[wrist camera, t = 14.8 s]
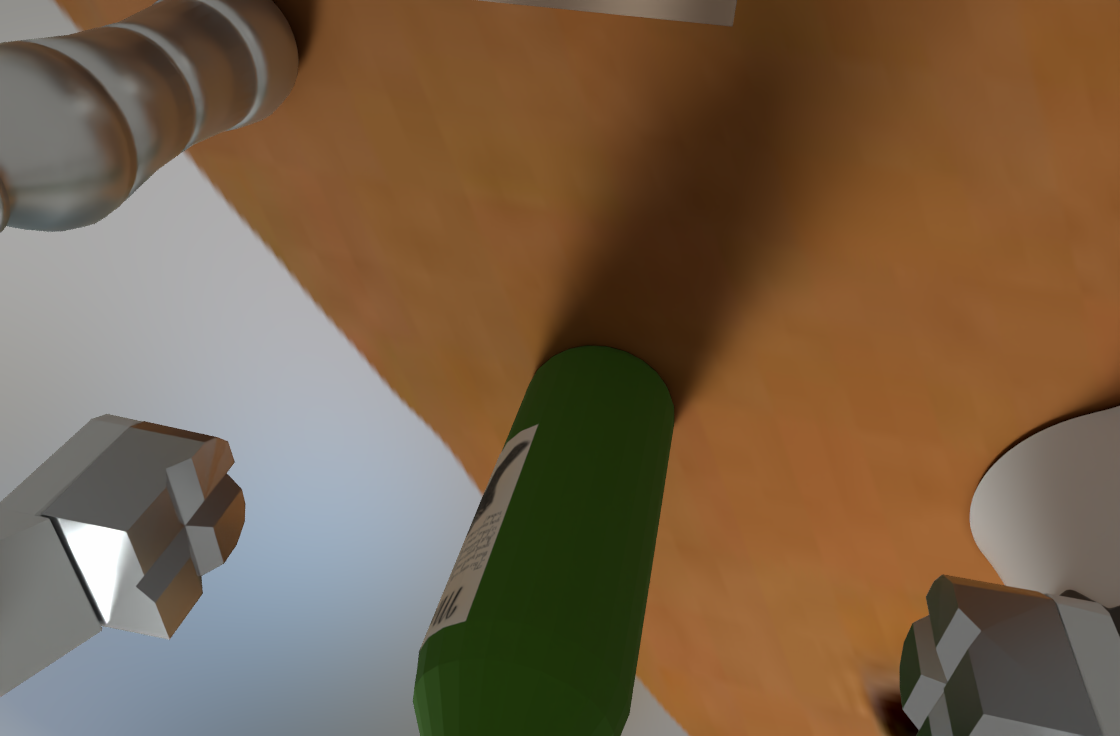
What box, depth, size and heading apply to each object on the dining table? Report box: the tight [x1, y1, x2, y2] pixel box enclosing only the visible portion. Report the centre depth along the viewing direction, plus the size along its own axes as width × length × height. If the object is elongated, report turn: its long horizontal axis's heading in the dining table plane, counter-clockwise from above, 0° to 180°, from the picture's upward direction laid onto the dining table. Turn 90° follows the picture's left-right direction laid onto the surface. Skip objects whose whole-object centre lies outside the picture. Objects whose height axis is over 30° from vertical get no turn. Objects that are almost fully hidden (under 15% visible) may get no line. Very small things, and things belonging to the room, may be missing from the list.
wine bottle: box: [413, 345, 674, 736], centre depth 35 cm, size 9×9×32 cm
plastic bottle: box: [0, 0, 299, 232], centre depth 31 cm, size 6×7×20 cm
